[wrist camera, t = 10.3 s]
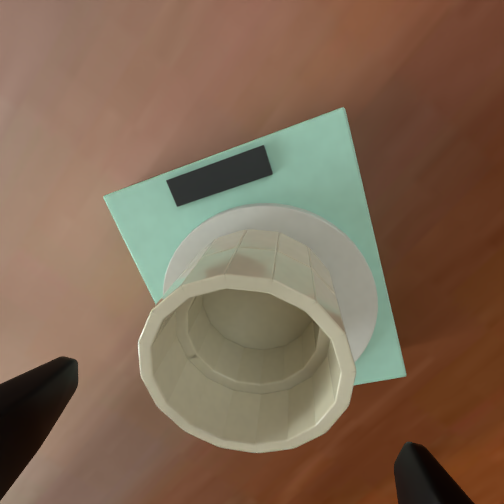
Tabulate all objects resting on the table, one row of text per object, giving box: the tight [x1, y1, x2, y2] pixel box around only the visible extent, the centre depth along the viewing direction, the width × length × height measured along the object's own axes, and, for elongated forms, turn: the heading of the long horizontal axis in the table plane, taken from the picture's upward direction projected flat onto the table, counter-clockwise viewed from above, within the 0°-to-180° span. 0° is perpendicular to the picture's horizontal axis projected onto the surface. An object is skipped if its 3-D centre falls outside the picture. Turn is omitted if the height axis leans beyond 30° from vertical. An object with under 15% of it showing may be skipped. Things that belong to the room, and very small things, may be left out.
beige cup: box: [138, 229, 356, 453], centre depth 12 cm, size 7×7×5 cm
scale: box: [103, 107, 406, 385], centre depth 15 cm, size 13×11×3 cm
